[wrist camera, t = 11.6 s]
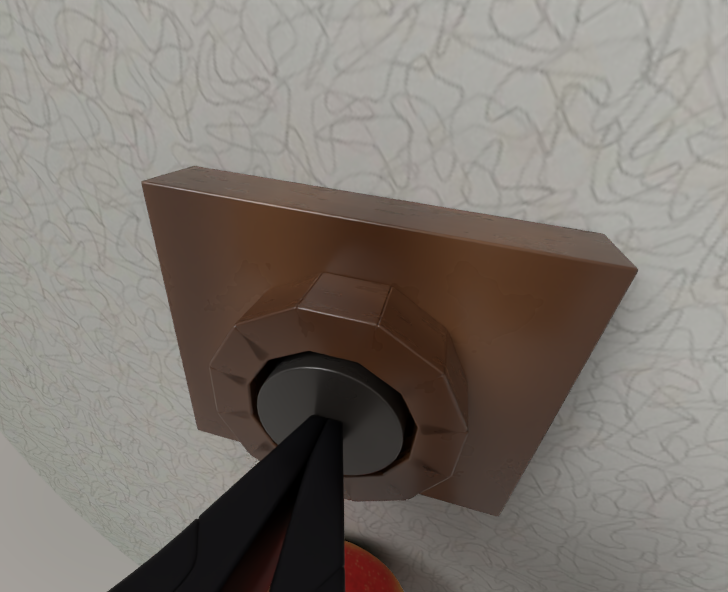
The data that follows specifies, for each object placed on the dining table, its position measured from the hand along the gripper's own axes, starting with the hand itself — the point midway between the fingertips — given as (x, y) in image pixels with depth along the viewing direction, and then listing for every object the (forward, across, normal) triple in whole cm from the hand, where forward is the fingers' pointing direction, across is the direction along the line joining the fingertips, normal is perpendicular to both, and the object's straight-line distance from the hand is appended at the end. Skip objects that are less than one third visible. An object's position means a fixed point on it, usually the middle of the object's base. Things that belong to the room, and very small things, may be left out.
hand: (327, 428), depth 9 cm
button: (+2, 0, 0) cm, 2 cm away
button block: (+4, 0, 0) cm, 4 cm away
